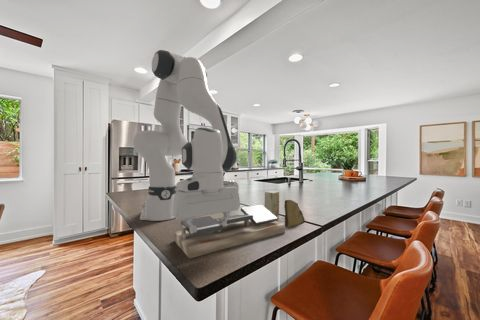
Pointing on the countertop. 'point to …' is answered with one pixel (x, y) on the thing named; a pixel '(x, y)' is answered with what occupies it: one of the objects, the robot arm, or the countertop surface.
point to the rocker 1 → (203, 225)
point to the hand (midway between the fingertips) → (209, 229)
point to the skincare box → (272, 202)
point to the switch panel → (225, 237)
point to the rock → (292, 213)
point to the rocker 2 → (259, 214)
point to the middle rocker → (237, 218)
